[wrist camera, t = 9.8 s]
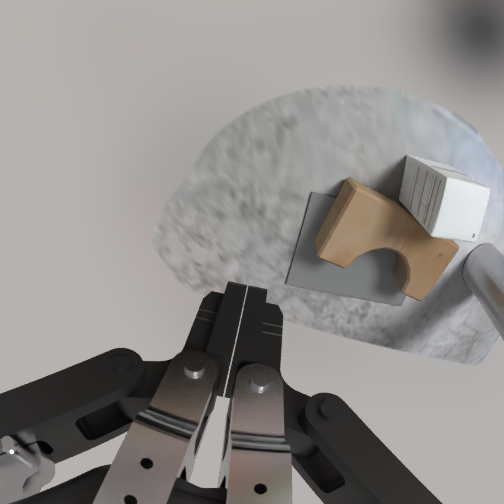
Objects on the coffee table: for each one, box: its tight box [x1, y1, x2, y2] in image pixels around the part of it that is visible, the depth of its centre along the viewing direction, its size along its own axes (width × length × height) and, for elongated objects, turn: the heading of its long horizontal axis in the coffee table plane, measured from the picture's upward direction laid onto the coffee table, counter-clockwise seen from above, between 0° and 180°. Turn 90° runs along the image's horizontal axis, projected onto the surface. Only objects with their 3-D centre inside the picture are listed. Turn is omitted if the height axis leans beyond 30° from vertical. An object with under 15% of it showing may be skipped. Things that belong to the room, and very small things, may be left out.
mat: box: [286, 192, 407, 306], centre depth 44 cm, size 22×16×1 cm
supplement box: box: [399, 155, 490, 243], centre depth 31 cm, size 7×7×13 cm
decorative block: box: [315, 177, 459, 301], centre depth 39 cm, size 11×6×20 cm
